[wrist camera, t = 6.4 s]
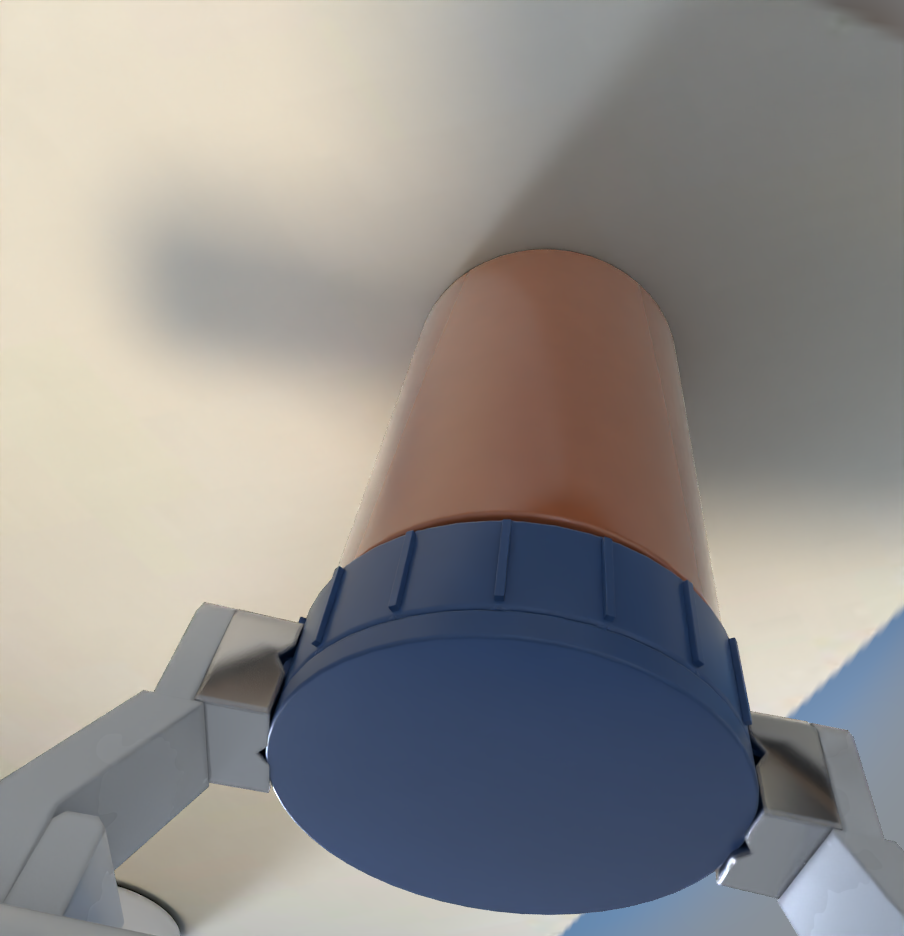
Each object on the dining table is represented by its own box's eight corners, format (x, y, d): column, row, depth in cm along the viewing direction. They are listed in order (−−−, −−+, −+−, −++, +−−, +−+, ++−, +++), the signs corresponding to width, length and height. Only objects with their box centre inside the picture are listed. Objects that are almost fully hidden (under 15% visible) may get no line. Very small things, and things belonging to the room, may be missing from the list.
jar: (433, 224, 18) (290, 558, 9) (712, 275, 18) (821, 662, 9) (405, 450, 21) (283, 839, 13) (636, 493, 21) (665, 916, 13)
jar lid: (663, 828, 14) (673, 947, 13) (297, 760, 14) (263, 871, 13) (812, 567, 10) (851, 695, 9) (305, 476, 10) (258, 588, 9)
